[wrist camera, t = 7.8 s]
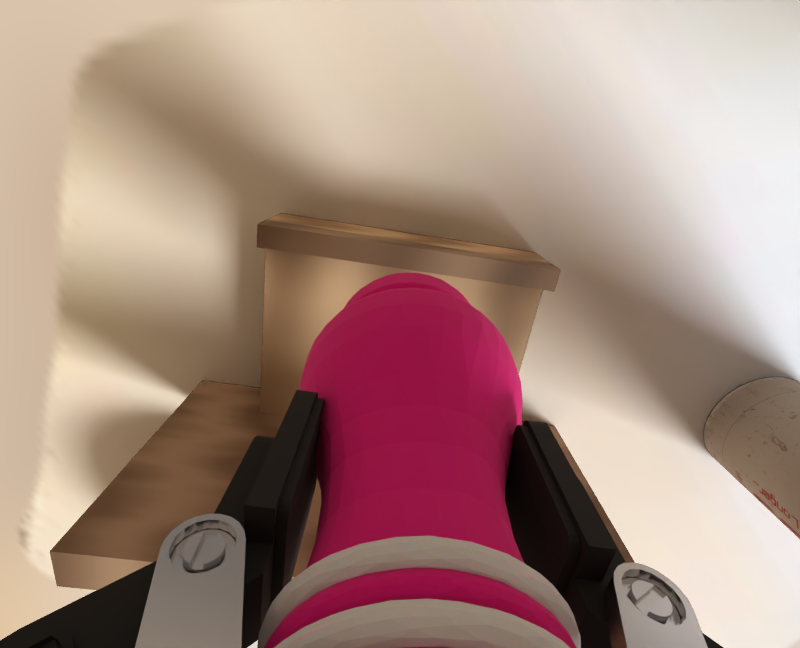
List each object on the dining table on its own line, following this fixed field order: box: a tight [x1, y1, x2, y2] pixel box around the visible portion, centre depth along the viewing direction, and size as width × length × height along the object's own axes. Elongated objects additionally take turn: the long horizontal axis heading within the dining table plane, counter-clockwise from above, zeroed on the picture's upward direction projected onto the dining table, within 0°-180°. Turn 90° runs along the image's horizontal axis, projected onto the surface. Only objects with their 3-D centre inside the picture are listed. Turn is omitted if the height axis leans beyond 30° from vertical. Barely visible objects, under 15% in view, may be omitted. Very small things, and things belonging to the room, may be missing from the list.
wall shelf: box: [50, 213, 635, 590], centre depth 22 cm, size 26×14×14 cm, turn 81°
